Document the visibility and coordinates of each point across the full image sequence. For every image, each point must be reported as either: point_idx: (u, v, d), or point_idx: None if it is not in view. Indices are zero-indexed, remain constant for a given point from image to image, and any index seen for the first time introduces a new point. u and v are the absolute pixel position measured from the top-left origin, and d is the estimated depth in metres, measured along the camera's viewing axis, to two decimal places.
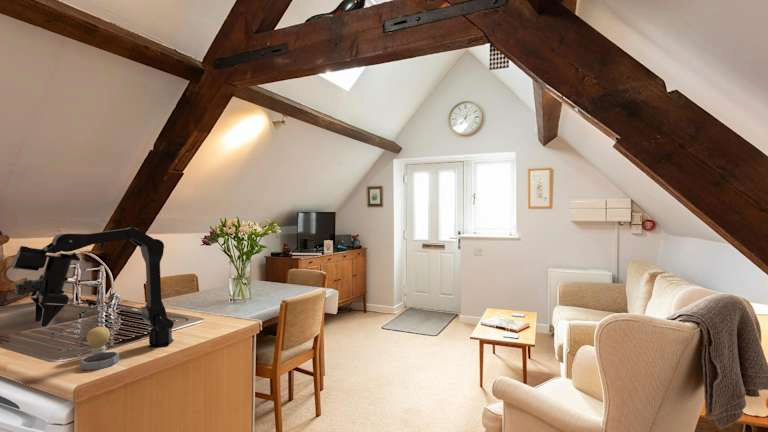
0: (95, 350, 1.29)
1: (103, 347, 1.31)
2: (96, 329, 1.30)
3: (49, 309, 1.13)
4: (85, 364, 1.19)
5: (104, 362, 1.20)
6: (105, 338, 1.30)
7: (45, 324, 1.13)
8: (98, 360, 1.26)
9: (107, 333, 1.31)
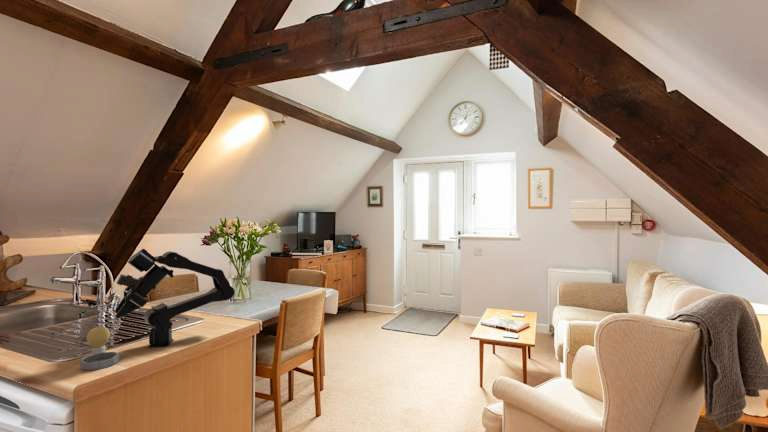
0: (95, 350, 1.29)
1: (103, 347, 1.31)
2: (96, 329, 1.30)
3: (128, 305, 1.31)
4: (85, 364, 1.19)
5: (104, 362, 1.20)
6: (105, 338, 1.30)
7: (118, 316, 1.30)
8: (98, 360, 1.26)
9: (107, 333, 1.31)
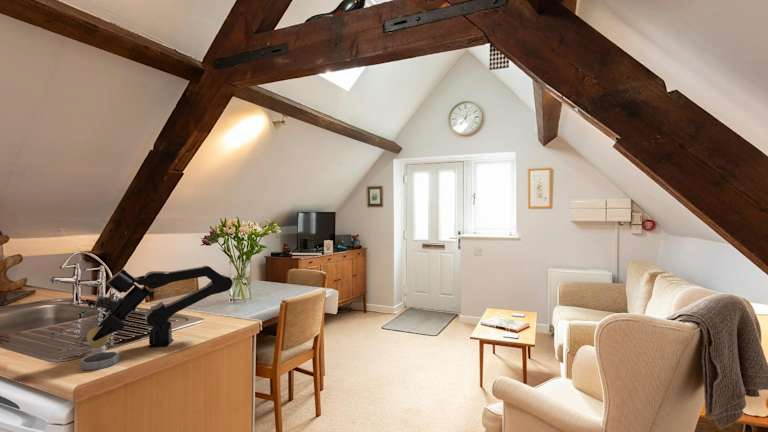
0: (95, 350, 1.29)
1: (103, 347, 1.31)
2: (96, 329, 1.30)
3: (106, 328, 1.29)
4: (85, 364, 1.19)
5: (104, 362, 1.20)
6: (105, 338, 1.30)
7: (95, 339, 1.27)
8: (98, 360, 1.26)
9: None
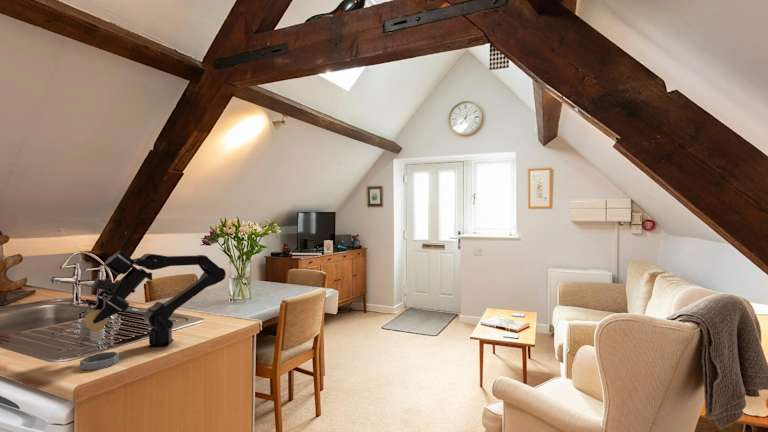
0: (94, 333, 1.26)
1: (102, 330, 1.28)
2: (95, 312, 1.26)
3: (107, 309, 1.26)
4: (85, 364, 1.19)
5: (104, 362, 1.20)
6: (105, 320, 1.28)
7: (96, 321, 1.25)
8: (98, 360, 1.26)
9: None
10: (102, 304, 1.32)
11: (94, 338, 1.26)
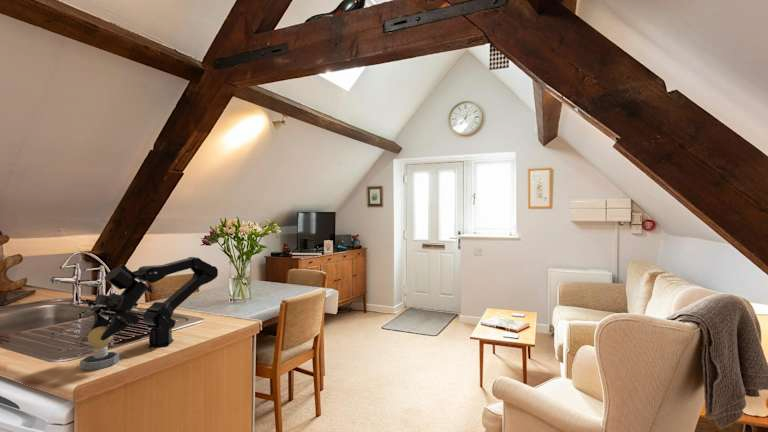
0: (100, 351, 1.22)
1: (107, 347, 1.24)
2: (100, 329, 1.23)
3: (115, 325, 1.24)
4: (85, 364, 1.19)
5: (104, 362, 1.20)
6: (111, 337, 1.24)
7: (104, 338, 1.21)
8: (98, 360, 1.26)
9: None
10: (101, 321, 1.27)
11: (100, 356, 1.22)
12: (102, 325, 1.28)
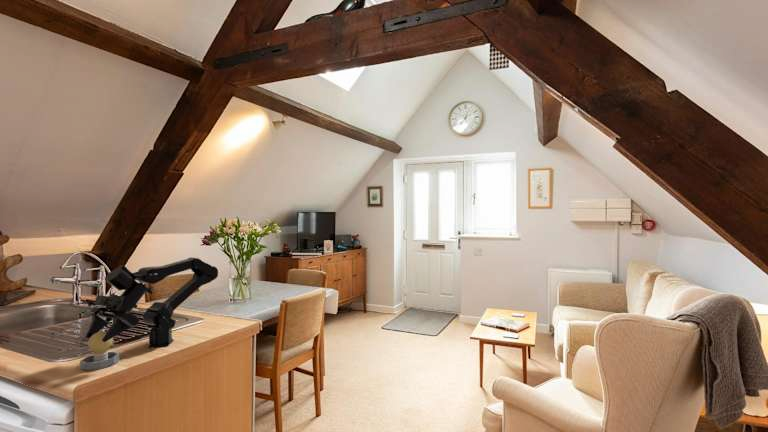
0: (100, 356, 1.22)
1: (107, 352, 1.24)
2: (101, 334, 1.23)
3: (117, 326, 1.23)
4: (85, 364, 1.19)
5: (104, 362, 1.20)
6: (111, 342, 1.24)
7: (106, 339, 1.21)
8: None
9: None
10: (99, 321, 1.28)
11: None
12: (99, 326, 1.28)
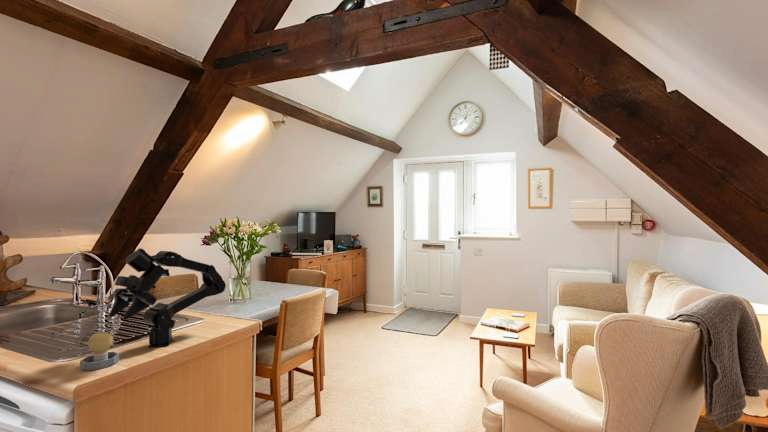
0: (100, 356, 1.22)
1: (107, 352, 1.24)
2: (101, 334, 1.23)
3: (136, 305, 1.29)
4: (85, 364, 1.19)
5: (104, 362, 1.20)
6: (111, 342, 1.24)
7: (126, 317, 1.27)
8: None
9: (111, 337, 1.25)
10: (120, 302, 1.35)
11: None
12: (122, 306, 1.35)
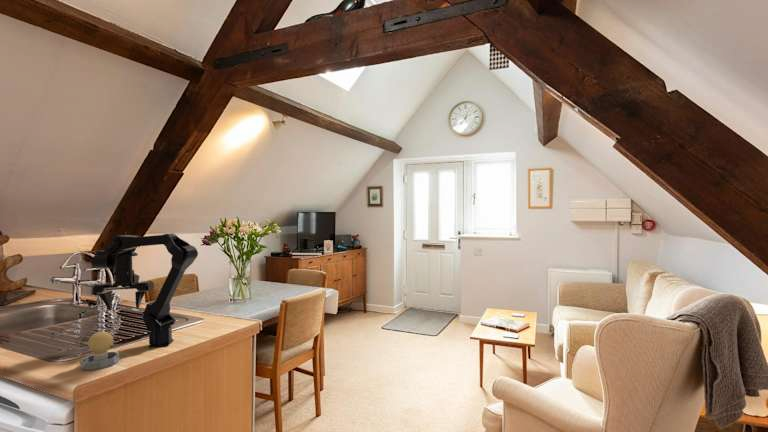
0: (100, 356, 1.22)
1: (107, 352, 1.24)
2: (101, 334, 1.23)
3: None
4: (85, 364, 1.19)
5: (104, 362, 1.20)
6: (111, 342, 1.24)
7: None
8: None
9: (111, 337, 1.25)
10: None
11: None
12: None
